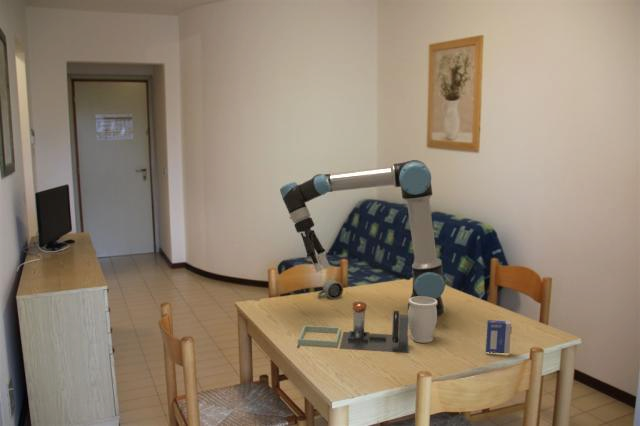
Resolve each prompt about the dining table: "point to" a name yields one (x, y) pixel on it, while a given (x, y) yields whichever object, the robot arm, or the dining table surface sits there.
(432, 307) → the jar
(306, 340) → the tray
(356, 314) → the copper-capped metal cylinder
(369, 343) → the pulley plate
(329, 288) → the ceramic mug
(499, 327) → the walkman
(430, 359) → the dining table surface
